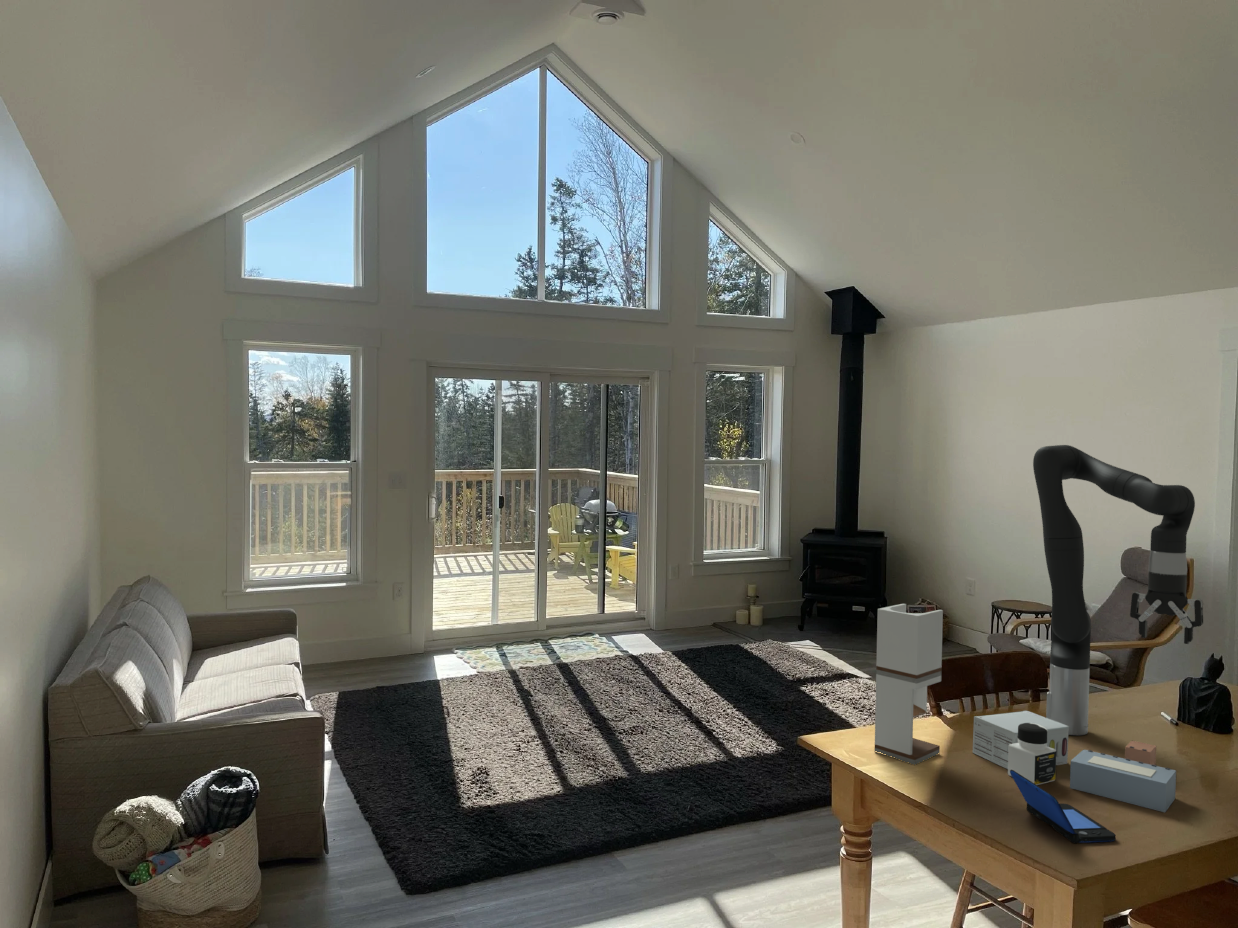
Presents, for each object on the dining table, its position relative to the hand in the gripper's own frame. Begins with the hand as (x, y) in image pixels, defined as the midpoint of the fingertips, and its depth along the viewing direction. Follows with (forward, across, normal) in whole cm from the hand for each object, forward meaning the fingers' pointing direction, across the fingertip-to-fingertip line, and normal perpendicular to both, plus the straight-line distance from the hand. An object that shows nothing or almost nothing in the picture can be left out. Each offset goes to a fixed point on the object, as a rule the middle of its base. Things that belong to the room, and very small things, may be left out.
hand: (1165, 640), depth 202 cm
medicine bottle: (+30, -20, -28) cm, 46 cm away
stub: (+30, -3, -6) cm, 31 cm away
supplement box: (+30, -26, -17) cm, 44 cm away
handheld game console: (+31, -8, -50) cm, 59 cm away
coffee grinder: (+30, -47, -33) cm, 65 cm away
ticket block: (+30, -3, -23) cm, 38 cm away
